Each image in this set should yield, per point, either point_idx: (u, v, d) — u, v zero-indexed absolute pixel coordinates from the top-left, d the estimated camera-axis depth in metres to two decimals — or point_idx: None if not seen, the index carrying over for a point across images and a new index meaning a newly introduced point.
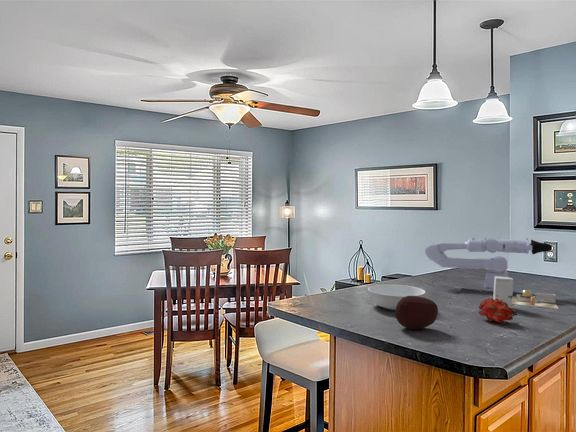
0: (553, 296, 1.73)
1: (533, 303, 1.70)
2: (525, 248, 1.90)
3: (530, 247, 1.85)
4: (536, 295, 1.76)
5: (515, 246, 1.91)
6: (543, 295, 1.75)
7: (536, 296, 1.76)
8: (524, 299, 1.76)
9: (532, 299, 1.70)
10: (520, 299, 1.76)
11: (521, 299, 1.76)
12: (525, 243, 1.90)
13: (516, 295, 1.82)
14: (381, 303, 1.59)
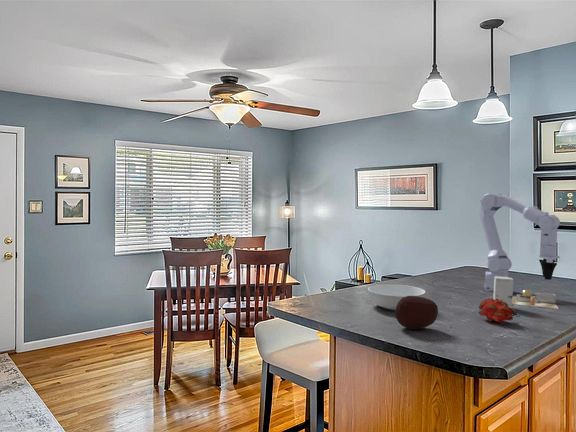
0: (553, 296, 1.73)
1: (533, 303, 1.70)
2: (547, 255, 1.78)
3: (550, 260, 1.74)
4: (536, 295, 1.76)
5: (549, 246, 1.78)
6: (543, 295, 1.75)
7: (536, 296, 1.76)
8: (524, 299, 1.76)
9: (532, 299, 1.70)
10: (520, 299, 1.76)
11: (521, 299, 1.76)
12: (553, 255, 1.78)
13: (516, 295, 1.82)
14: (381, 303, 1.59)
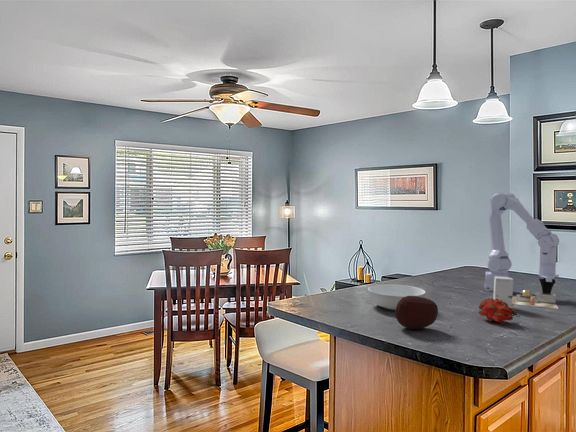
0: (553, 296, 1.73)
1: (533, 303, 1.70)
2: (546, 274, 1.79)
3: (549, 280, 1.74)
4: (536, 295, 1.76)
5: (548, 264, 1.78)
6: (543, 295, 1.75)
7: (536, 296, 1.76)
8: (524, 299, 1.76)
9: (532, 299, 1.70)
10: (520, 299, 1.76)
11: (521, 299, 1.76)
12: (552, 274, 1.78)
13: (516, 295, 1.82)
14: (381, 303, 1.59)
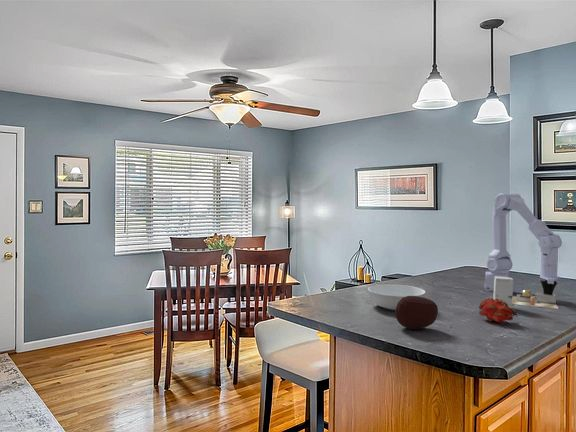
0: (553, 296, 1.73)
1: (533, 303, 1.70)
2: (547, 275, 1.74)
3: (551, 282, 1.70)
4: (536, 295, 1.76)
5: (550, 266, 1.74)
6: (543, 295, 1.75)
7: (536, 296, 1.76)
8: (524, 299, 1.76)
9: (532, 299, 1.70)
10: (520, 299, 1.76)
11: (521, 299, 1.76)
12: (553, 276, 1.74)
13: (517, 294, 1.82)
14: (381, 303, 1.59)
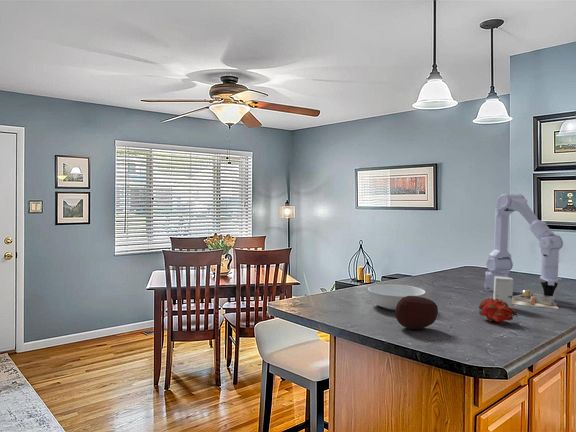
0: (549, 298, 1.70)
1: (533, 303, 1.70)
2: (548, 277, 1.72)
3: (551, 283, 1.67)
4: (533, 295, 1.75)
5: (550, 267, 1.71)
6: (540, 296, 1.73)
7: (533, 296, 1.75)
8: (519, 298, 1.77)
9: (532, 299, 1.70)
10: (516, 298, 1.78)
11: (517, 298, 1.78)
12: (554, 277, 1.71)
13: (521, 295, 1.83)
14: (381, 303, 1.59)
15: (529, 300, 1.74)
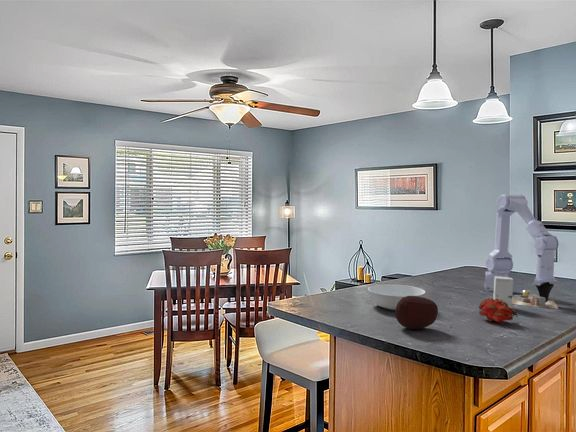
0: (537, 298, 1.69)
1: (533, 303, 1.70)
2: (540, 277, 1.70)
3: (537, 283, 1.67)
4: (528, 295, 1.75)
5: (542, 268, 1.69)
6: (532, 296, 1.73)
7: (528, 296, 1.75)
8: (516, 297, 1.79)
9: (532, 299, 1.70)
10: (514, 297, 1.81)
11: (515, 297, 1.80)
12: (546, 278, 1.69)
13: None
14: (381, 303, 1.59)
15: (522, 299, 1.75)
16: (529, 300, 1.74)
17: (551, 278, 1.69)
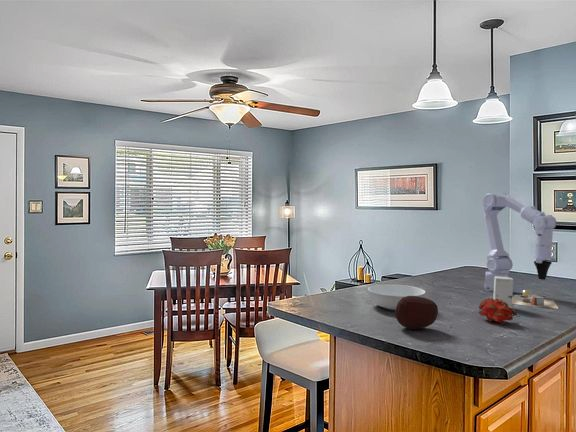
0: (536, 298, 1.69)
1: (533, 303, 1.70)
2: (539, 255, 1.76)
3: (539, 261, 1.72)
4: (528, 295, 1.75)
5: (542, 246, 1.75)
6: (531, 296, 1.73)
7: (528, 296, 1.75)
8: (516, 297, 1.79)
9: (532, 299, 1.70)
10: (514, 296, 1.81)
11: (515, 297, 1.80)
12: (546, 256, 1.75)
13: None
14: (381, 303, 1.59)
15: (521, 299, 1.76)
16: (528, 300, 1.74)
17: (550, 256, 1.75)
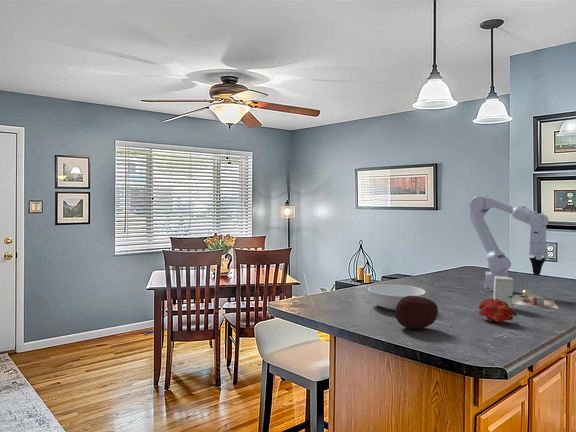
0: (536, 298, 1.69)
1: (533, 303, 1.70)
2: (536, 252, 1.83)
3: (539, 258, 1.79)
4: (528, 295, 1.75)
5: (538, 243, 1.82)
6: (531, 296, 1.73)
7: (528, 296, 1.75)
8: (516, 297, 1.79)
9: (532, 299, 1.70)
10: (514, 296, 1.81)
11: (515, 297, 1.80)
12: (542, 252, 1.82)
13: None
14: (381, 303, 1.59)
15: (521, 299, 1.76)
16: (528, 300, 1.74)
17: None
